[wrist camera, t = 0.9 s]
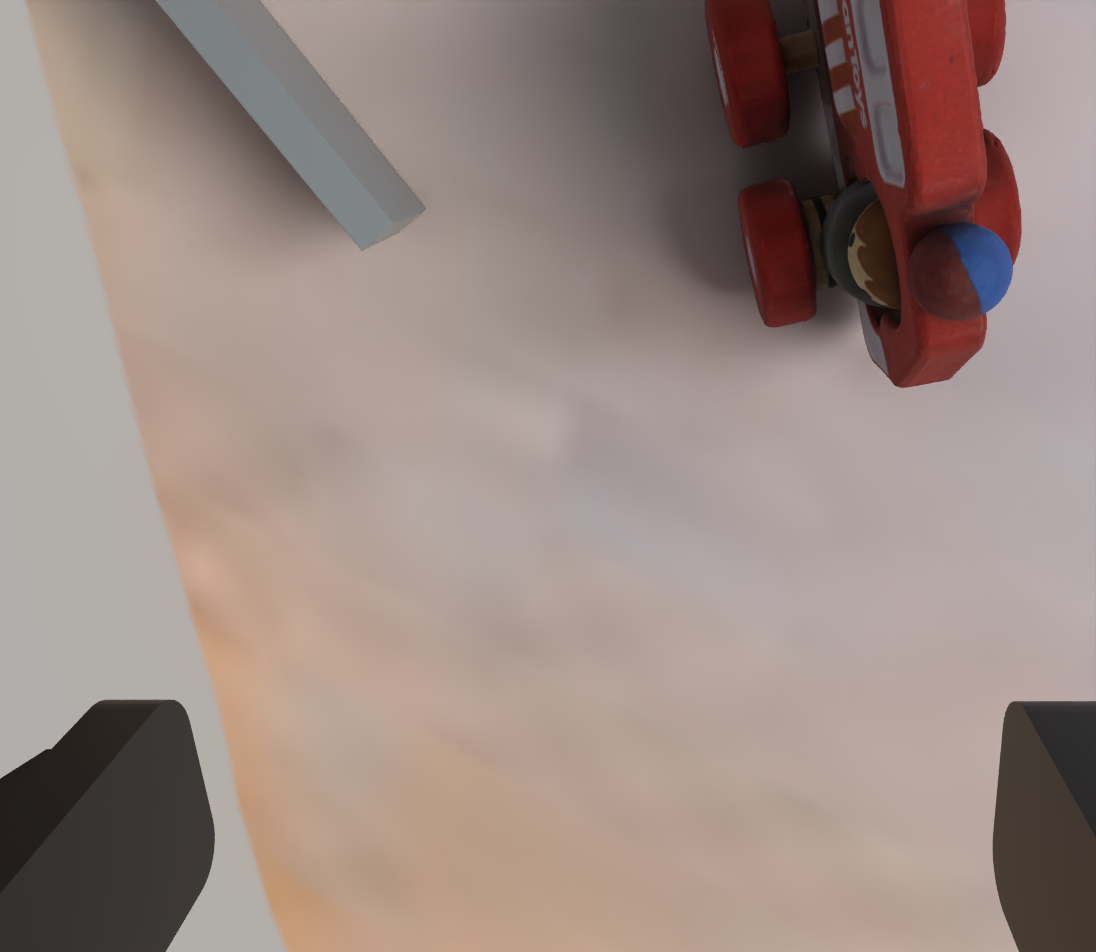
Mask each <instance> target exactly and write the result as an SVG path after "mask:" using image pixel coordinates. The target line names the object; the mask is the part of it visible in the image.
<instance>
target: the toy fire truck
mask: <svg viewBox="0 0 1096 952" xmlns="http://www.w3.org/2000/svg"><path fill="white" fill-rule="evenodd" d="M805 3H806V9H807V14H808V16H807V26H808V30H807V31H805V32H800V33H797V34H793V35H789V36H785V37H782V38H779V39H778V32H777V27H776V21H775V18H774V16H773V13H772V9H771V6H770V3H769V1H768V0H706V1H705V18H706V23H707V29H708V35H709V40H710V46H711V52H712V57H713V63H714V68H715V73H716V77H717V82H718V86H719V90H720V95H721V101H722V105H723V108H724V112H725V116H726V119H727V123H728V127H729V131H730V134H731V137H732V140H733V142H734V143H735V144H736V145H737V146H738V147H741V148H742V149H743V148H747V147H751V146H755V145H758V144H762V143H768V142H772V141H775V140H777V139H780V138H782V137H784V136H785V135H786V134H787V132H788V129H789V125H790V124H789V122H790V104H789V94H788V86H787V78H786V74H791V73H795V72H799V71H803V70H806V69H810V68H813V67H815V68H816V71H817V74H818V78H819V84H820V90H821V96H822V102H823V106H824V112H825V117H826V123H827V129H828V134H829V140H830V146H831V151H832V157H833V163H834V168H835V173H836V178H837V184H838V187H839V194H840V195H839V196H838V197H837V198H836V197H834V196H833V195H824V196H820V197H816V198H813V199H810V200H804V201H799V200H798V197H797V194H796V191H795V186H794V184H793V183H792V182H791V181H790V180H788V179H785V178H775V179H773V180H771V181H767V182H763V183H759V184H755V185H751V186H749V187H747V188H744V189H743V190H742V191H741V192H740V194H739V197H738V206H739V214H740V221H741V228H742V234H743V241H744V246H745V251H746V256H747V261H748V265H749V270H750V274H751V280H752V284H753V288H754V292H755V297H756V300H757V304H758V308H759V312H760V314H761V317H762V319H763V322H764V324H765V325H767V326H768V327H780V326H785V325H789V324H793V323H797V322H802V321H806V320H808V319H810V318H812V317H813V316H814V315H815V314H816V289H820V288H824V287H829V288H832V287H834V286H836V285H837V284H839V285H840V286H841V287H842V288H843V289H844V290H845V291H846V292H847V293H848V294H850V295H851V296H853V297H854V298H856V299H857V300H858V305H859V312H860V318H861V323H862V329H863V334H864V338H865V342H866V346H867V349H868V352H869V354H870V357H871V358H872V360H873V362H874V363H875V364H876V365H877V366H878V367H879V368H880V369H881V370H882V371H883V372H884V373H885V374H886V376H887V377H888V378H889V379H890V380H891V381H892V383H893V384H894V385H895V386H897V387H901V388H905V387H912V386H918V385H923V384H929V383H934V382H940V381H944V380H949V379H950V378H951V377H953V375H954V374H955V373H956V372H957V371H958V370H960V368H961V367H962V366H963V365H964V364H965V363H966V362H967V361H968V360H969V359H970V358H971V357H972V356H974V355H975V354H976V353H977V352H978V351H979V350H980V349H981V348H982V346H983V343H984V340H985V335H986V329H987V318H986V312H988V311H989V310H991V309H992V308H993V307H995V306H996V305H997V304H998V303H999V302H1000V301H1001V299H1002V298H1003V297H1004V295H1005V294H1006V292H1007V289H1008V287H1009V285H1010V282H1011V278H1012V273H1013V264H1014V263H1015V260H1016V258H1017V255H1018V252H1019V248H1020V241H1021V208H1020V204H1019V195H1018V188H1017V184H1016V180H1015V175H1014V171H1013V167H1012V165H1011V162H1010V159H1009V157H1008V155H1007V153H1006V151H1005V149H1004V147H1003V145H1002V143H1001V141H1000V140H999V139H998V138H997V137H996V136H995V135H994V134H993V133H991V132H990V131H989V130H986V129H984V128H983V124H982V120H981V110H980V102H979V93H978V89H977V87H980V86H982V85H985V84H987V83H988V82H989V81H990V80H991V79H992V78H993V76H994V75H995V74H996V72H997V70H998V68H999V65H1000V62H1001V59H1002V55H1003V49H1004V43H1005V34H1006V32H1005V26H1006V13H1005V0H805Z"/></svg>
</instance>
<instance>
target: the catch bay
mask: <svg viewBox="0 0 1096 952" xmlns="http://www.w3.org/2000/svg"><path fill="white" fill-rule="evenodd" d="M156 2H157V3H158V4H159V5H160V6H161V8H162V9H163V10H164V11H165V13H166V14H167V15H168V16H169V17H170V19H171V20H172V21H173V22H174V23H175V25H176V26H177V27H178V28H179V30H180V31H181V32H182V33H183V34H184V36H185V37H186V38H187V39H188V40H189V42H190V43H191V44H192V45H193V47H194V48H195V49H196V50H197V51H198V53H199V54H200V55H201V56H202V57H203V59H204V60H205V61H206V62H207V64H208V65H209V66H210V67H211V68H212V70H213V71H214V72H215V73H216V74H217V76H218V77H219V78H220V79H221V80H222V82H223V83H224V84H225V85H226V87H227V88H228V89H229V90H230V91H231V93H232V94H233V95H234V96H235V97H236V99H237V100H238V101H239V102H240V104H241V105H242V106H243V107H244V108H245V110H246V111H247V112H248V113H249V114H250V116H251V117H252V118H253V119H254V121H255V122H256V123H257V124H258V125H259V127H260V128H261V129H262V130H263V131H264V133H265V134H266V135H267V136H268V138H269V139H270V140H271V141H272V142H273V144H274V145H275V146H276V147H277V148H278V150H279V151H280V152H281V153H282V155H283V156H284V157H285V158H286V159H287V161H288V162H289V163H290V164H291V165H292V167H293V168H294V169H295V170H296V172H297V173H298V174H299V175H300V176H301V178H302V179H303V180H304V181H305V182H306V184H307V185H308V186H309V187H310V189H311V190H312V191H313V192H314V193H315V195H316V196H317V197H318V198H319V199H320V201H321V202H322V203H323V204H324V206H325V207H326V208H327V209H328V210H329V212H330V213H331V214H332V215H333V216H334V218H335V219H336V220H337V221H338V223H339V224H340V225H341V226H342V227H343V229H344V230H345V231H346V232H347V233H348V235H349V236H350V237H351V238H352V240H353V241H354V242H355V243H356V244H357V246H358V247H359V248H360V249H361V250H362V251H363V250H365V249H367V248H369V247H371V246H373V245H375V244H377V243H379V242H381V241H383V240H385V239H387V238H389V237H391V236H393V235H395V234H397V233H398V232H400V231H401V230H402V229H403V228H404V227H405V226H407V225H408V224H409V223H410V222H411V221H412V220H414V219H415V218H416V217H417V216H418V215H419V214H421V213H422V212H423V211H424V210H425V209H426V208H425V207H424V205H423V204H422V203H421V202H420V200H419V199H418V198H417V197H416V195H415V194H414V193H413V192H412V190H411V189H410V188H409V187H408V185H407V184H406V183H405V182H404V180H403V179H402V178H401V177H400V175H399V174H398V173H397V172H396V170H395V169H394V168H393V167H392V165H391V164H390V163H389V162H388V160H387V159H386V158H385V157H384V155H383V154H382V153H381V152H380V150H379V149H378V148H377V147H376V145H375V144H374V143H373V142H372V140H371V139H370V138H369V137H368V135H367V134H366V133H365V132H364V130H363V129H362V128H361V127H360V125H359V124H358V123H357V122H356V120H355V119H354V118H353V117H352V115H351V114H350V113H349V112H348V110H347V109H346V108H345V107H344V105H343V104H342V103H341V102H340V100H339V99H338V98H337V97H336V95H335V94H334V93H333V92H332V90H331V89H330V88H329V87H328V85H327V84H326V83H325V82H324V80H323V79H322V78H321V77H320V75H319V74H318V73H317V72H316V70H315V69H314V68H313V67H312V65H311V64H310V63H309V61H308V60H307V59H306V58H305V56H304V55H303V54H302V53H301V51H300V50H299V49H298V48H297V46H296V45H295V44H294V43H293V41H292V40H291V39H290V38H289V36H288V35H287V34H286V33H285V31H284V30H283V29H282V28H281V26H280V25H279V24H278V23H277V21H276V20H275V19H274V18H273V16H272V15H271V14H270V13H269V11H268V10H267V9H266V8H265V6H264V5H263V4H262V3H261V1H260V0H156Z"/></svg>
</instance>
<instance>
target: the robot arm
mask: <svg viewBox="0 0 1096 952" xmlns="http://www.w3.org/2000/svg"><path fill="white" fill-rule="evenodd" d="M214 837H215V833H214V824H213V818H212V814H211V810H210V805H209V801H208V797H207V793H206V789H205V784H204V780H203V776H202V771H201V767H200V763H199V759H198V755H197V750H196V746H195V742H194V738H193V733H192V729H191V725H190V721H189V718H188V715H187V713H186V710H185V709H184V707H183V706H182V705H181V704H180V703H179V702H177V701H175V700H103V701H99V702H98V703H96V704H94V705H93V706H92V707H91V708H90V709H89V710H88V711H87V712H86V713H85V714H84V715H83V716H82V718H80V720H79V721H78V722H77V723H76V724H75V725H74V726H73V727H72V728H71V729H70V730H69V731H68V732H67V733H66V734H65V735H64V736H63V737H62V738H61V740H60V741H59V742H58V743H57V744H56V745H55V746H54V747H53V748H52V749H46V750H45V751H43V752H42V753H40V754H39V755H37V756H35V757H34V758H32V759H30V760H29V761H28V762H26V763H24V764H23V765H21V766H20V767H18V768H16V769H15V770H13V771H12V772H10V773H8V774H7V775H5V776H4V777H2V778H1V779H0V952H166V950H167V948H168V947H169V945H170V943H171V942H172V940H173V938H174V936H175V935H176V933H177V931H178V930H179V928H180V926H181V925H182V923H183V921H184V920H185V918H186V916H187V914H188V913H189V911H190V910H191V908H192V906H193V905H194V903H195V901H196V900H197V898H198V896H199V894H200V893H201V891H202V889H203V887H204V885H205V883H206V881H207V878H208V875H209V872H210V869H211V864H212V860H213V854H214V843H215V838H214ZM993 863H994V872H995V879H996V885H997V890H998V894H999V899H1000V902H1001V906H1002V909H1003V912H1004V915H1005V917H1006V920H1007V922H1008V925H1009V927H1010V930H1011V933H1012V935H1013V938H1014V940H1015V943H1016V945H1017V948H1018V950H1019V952H1096V701H1015V702H1012V703H1010V704H1009V706H1008V707H1007V710H1006V713H1005V717H1004V723H1003V733H1002V744H1001V755H1000V766H999V777H998V787H997V798H996V809H995V820H994V831H993Z"/></svg>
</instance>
